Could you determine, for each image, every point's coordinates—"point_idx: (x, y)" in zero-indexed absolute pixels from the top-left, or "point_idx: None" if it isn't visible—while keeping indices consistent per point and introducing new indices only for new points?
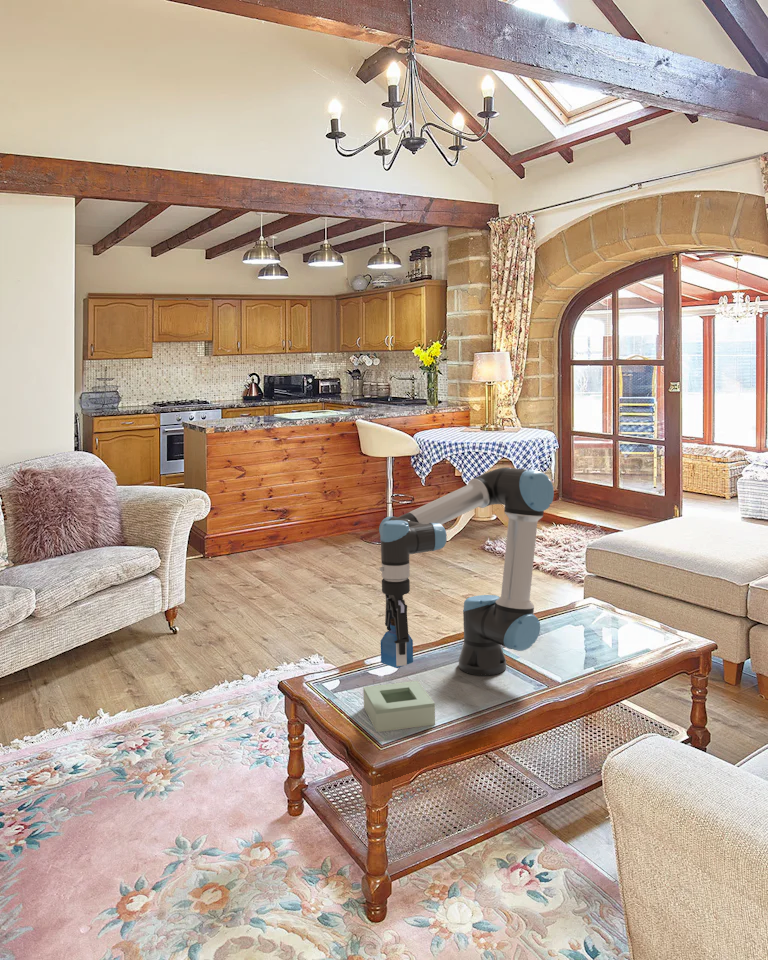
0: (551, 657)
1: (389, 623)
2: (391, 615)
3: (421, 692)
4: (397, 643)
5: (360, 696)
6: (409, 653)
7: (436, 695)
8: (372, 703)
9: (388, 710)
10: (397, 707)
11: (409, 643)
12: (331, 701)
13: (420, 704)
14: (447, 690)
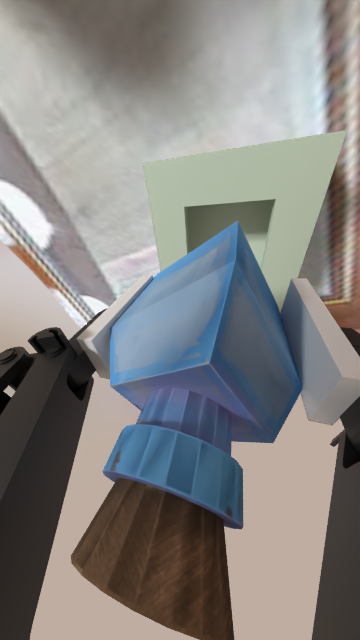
0: None
1: (78, 431)
2: (35, 559)
3: (231, 170)
4: (334, 416)
5: None
6: (251, 260)
7: (135, 89)
8: None
9: None
10: (298, 269)
11: (254, 287)
12: None
13: (320, 196)
14: (99, 23)
